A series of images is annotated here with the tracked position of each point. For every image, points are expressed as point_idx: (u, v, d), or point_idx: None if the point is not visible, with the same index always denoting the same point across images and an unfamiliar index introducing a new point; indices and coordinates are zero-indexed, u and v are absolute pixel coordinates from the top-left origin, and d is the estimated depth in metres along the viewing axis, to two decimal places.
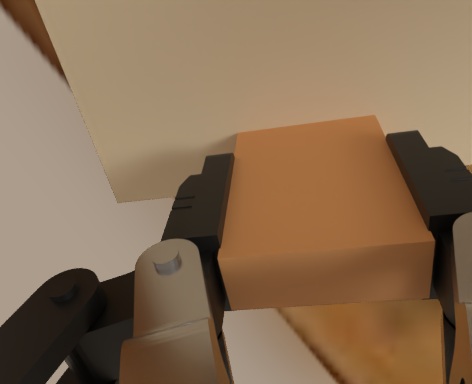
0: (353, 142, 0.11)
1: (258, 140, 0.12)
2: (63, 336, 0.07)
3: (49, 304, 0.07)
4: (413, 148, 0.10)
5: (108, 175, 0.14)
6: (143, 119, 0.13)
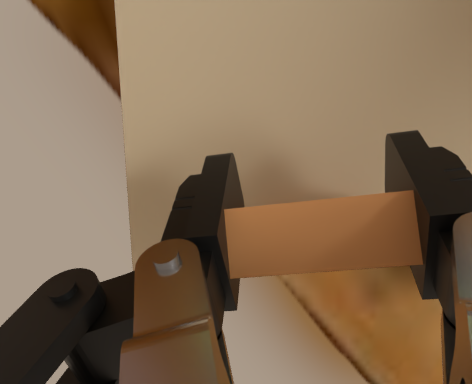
0: None
1: None
2: (63, 336, 0.07)
3: (49, 304, 0.07)
4: (413, 148, 0.10)
5: (133, 253, 0.15)
6: None
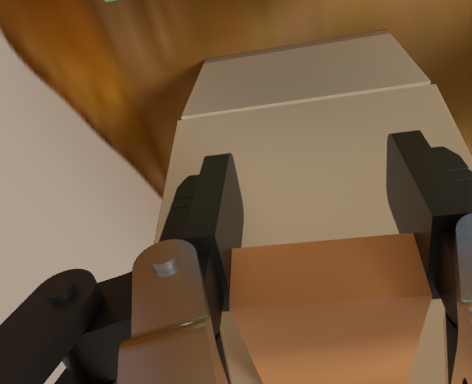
0: None
1: None
2: (61, 336, 0.07)
3: (46, 305, 0.07)
4: (415, 148, 0.10)
5: None
6: None
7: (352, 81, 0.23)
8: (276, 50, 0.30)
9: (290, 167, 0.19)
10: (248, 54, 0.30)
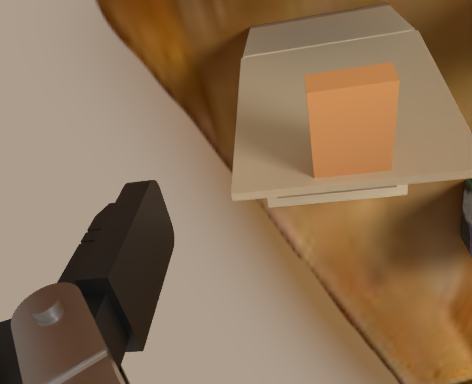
0: None
1: None
2: None
3: None
4: None
5: (233, 179, 0.24)
6: (264, 154, 0.25)
7: (362, 32, 0.33)
8: (304, 18, 0.40)
9: None
10: (283, 22, 0.41)
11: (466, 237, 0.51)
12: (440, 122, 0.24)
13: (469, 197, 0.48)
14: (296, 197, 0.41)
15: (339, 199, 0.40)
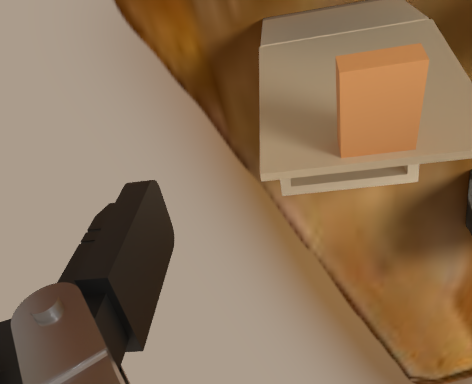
0: None
1: None
2: None
3: None
4: None
5: (261, 160, 0.25)
6: (289, 137, 0.26)
7: (376, 22, 0.34)
8: (316, 10, 0.41)
9: None
10: (296, 14, 0.41)
11: (471, 225, 0.52)
12: (459, 104, 0.25)
13: None
14: (309, 185, 0.42)
15: (351, 187, 0.41)
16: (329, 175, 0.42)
